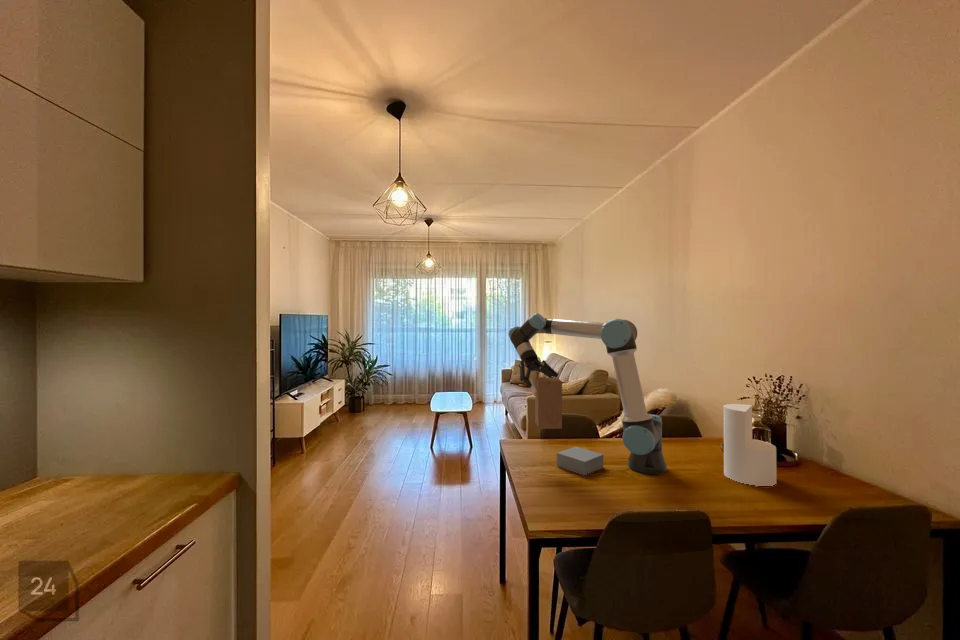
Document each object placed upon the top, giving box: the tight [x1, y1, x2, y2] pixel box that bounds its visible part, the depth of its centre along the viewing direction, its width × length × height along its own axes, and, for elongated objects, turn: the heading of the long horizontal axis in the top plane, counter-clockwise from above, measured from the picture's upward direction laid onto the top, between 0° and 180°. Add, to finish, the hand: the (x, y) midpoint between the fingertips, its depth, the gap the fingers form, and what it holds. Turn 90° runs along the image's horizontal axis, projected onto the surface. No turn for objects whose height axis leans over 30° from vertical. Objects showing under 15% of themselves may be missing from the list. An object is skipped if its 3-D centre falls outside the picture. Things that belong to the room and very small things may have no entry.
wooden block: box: [534, 377, 563, 430], centre depth 161 cm, size 10×10×20 cm
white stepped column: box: [723, 403, 777, 487], centre depth 152 cm, size 17×17×28 cm
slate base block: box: [556, 446, 604, 477], centre depth 163 cm, size 14×14×6 cm
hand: (547, 391), depth 162 cm, fingers closed on wooden block, 12 cm apart
